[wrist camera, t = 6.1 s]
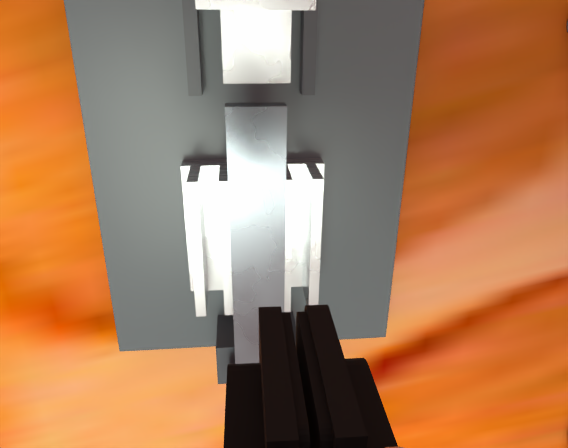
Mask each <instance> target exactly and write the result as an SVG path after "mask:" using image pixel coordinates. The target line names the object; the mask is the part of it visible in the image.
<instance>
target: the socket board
mask: <svg viewBox="0 0 568 448" xmlns="http://www.w3.org/2000/svg"><path fill="white" fill-rule="evenodd" d="M64 5H65V11H66V17H67V23H68V30H69V36H70V42H71V48H72V55H73V61H74V67H75V74H76V80H77V86H78V92H79V99H80V105H81V111H82V117H83V124H84V130H85V136H86V143H87V149H88V155H89V161H90V168H91V174H92V180H93V186H94V193H95V199H96V205H97V212H98V218H99V224H100V230H101V237H102V243H103V249H104V256H105V262H106V268H107V274H108V281H109V287H110V293H111V299H112V306H113V312H114V318H115V325H116V331H117V337H118V343H119V350H120V351H136V350H154V349H173V348H191V347H210V346H216V357H217V374H218V384H226V383H227V365H228V364H235V345H234V321H233V315H225V312H224V291H223V290H209V291H208V303H207V315H206V316H199V317H196V308H195V295H194V291H191V288H190V275H189V263H188V250H187V238H186V226H185V213H184V201H183V188H182V176H181V164H182V161H183V160H227V147H226V122H225V103H262V102H285V103H286V105H287V148H286V159H287V158H322V160H323V162H324V163H325V165H324V190H323V212H322V234H321V257H320V279H319V301H318V305H328V306H329V309H330V312H331V315H332V319H333V322H334V325H335V329H336V332H337V335H338V339H357V338H376V337H386V329H387V320H388V311H389V303H390V294H391V285H392V277H393V268H394V259H395V251H396V242H397V233H398V225H399V216H400V207H401V199H402V190H403V181H404V173H405V164H406V155H407V147H408V138H409V129H410V121H411V112H412V104H413V95H414V86H415V78H416V69H417V60H418V52H419V43H420V34H421V26H422V17H423V8H424V0H316V10H292V19H291V83H246V84H223V64H222V39H221V14H220V10H205V9H196V6H195V0H64ZM305 305H307V304H306V300H305V296H304V292H303V288H302V286H301V287H291V312H290V314H291V320H292V326H293V332H294V339H295V345H296V313H297V312H302V311H304V309H305Z"/></svg>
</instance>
